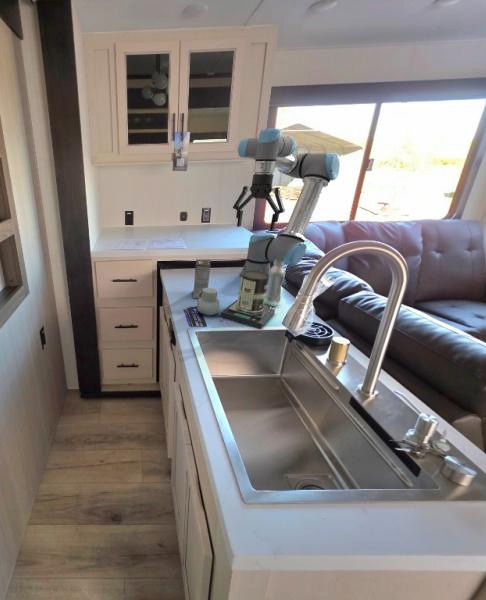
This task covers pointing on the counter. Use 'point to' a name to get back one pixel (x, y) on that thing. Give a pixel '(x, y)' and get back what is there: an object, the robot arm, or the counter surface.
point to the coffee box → (201, 277)
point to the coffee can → (252, 291)
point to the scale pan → (254, 315)
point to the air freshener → (208, 302)
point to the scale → (247, 317)
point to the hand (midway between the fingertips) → (254, 228)
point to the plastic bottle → (275, 283)
